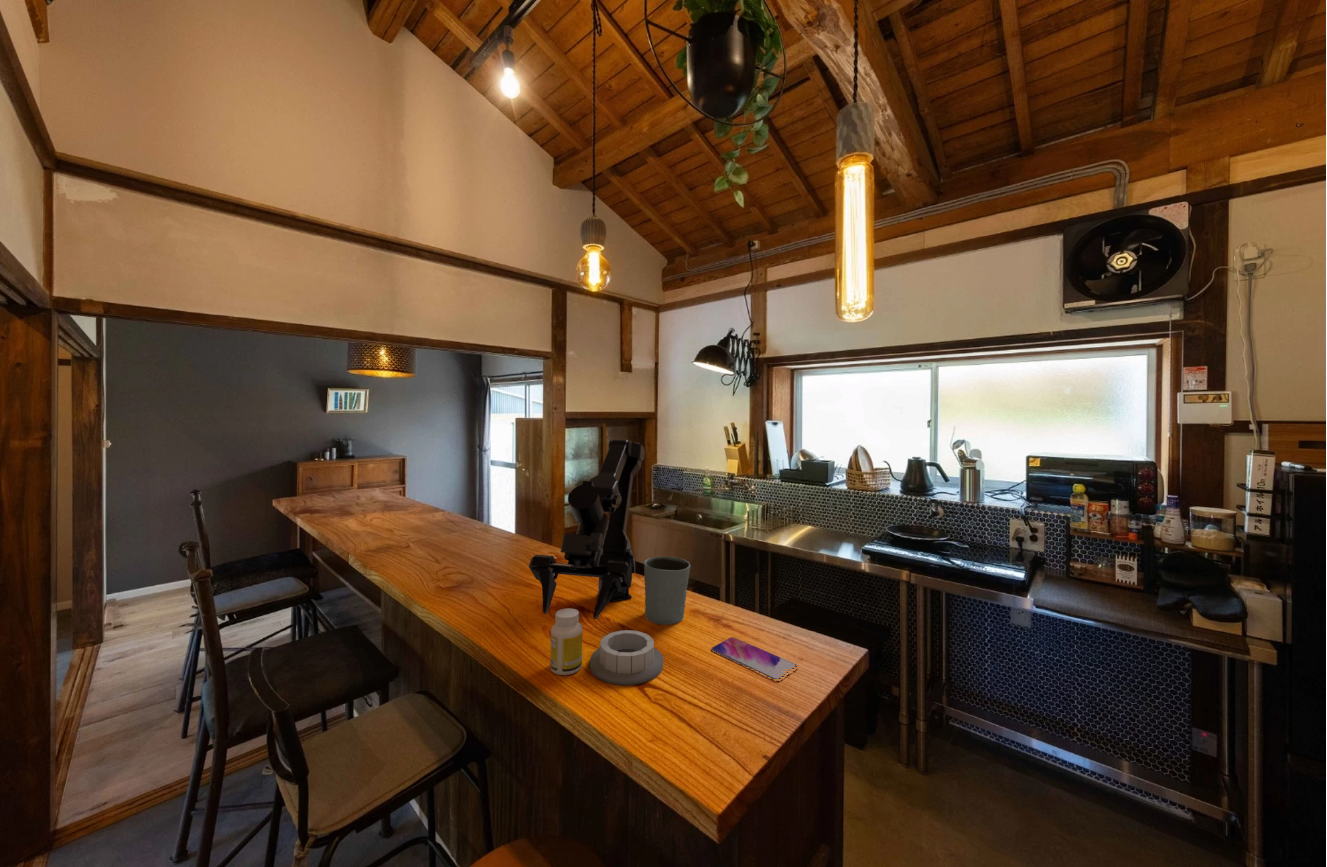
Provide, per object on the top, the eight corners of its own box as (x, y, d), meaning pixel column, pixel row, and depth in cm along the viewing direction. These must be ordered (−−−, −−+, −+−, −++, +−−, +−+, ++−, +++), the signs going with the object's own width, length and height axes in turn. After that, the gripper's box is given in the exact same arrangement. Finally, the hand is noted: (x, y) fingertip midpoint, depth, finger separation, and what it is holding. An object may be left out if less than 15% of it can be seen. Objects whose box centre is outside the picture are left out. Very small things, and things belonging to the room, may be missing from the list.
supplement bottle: (586, 662, 86) (588, 608, 85) (573, 678, 80) (574, 621, 80) (559, 657, 87) (560, 604, 87) (544, 673, 82) (545, 616, 82)
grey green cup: (635, 611, 108) (636, 558, 108) (674, 604, 113) (676, 553, 113) (655, 630, 99) (656, 572, 99) (697, 621, 104) (698, 566, 104)
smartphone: (778, 681, 81) (709, 648, 92) (778, 686, 81) (709, 652, 92) (799, 665, 86) (732, 635, 97) (799, 669, 86) (732, 640, 97)
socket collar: (643, 641, 94) (644, 621, 94) (676, 674, 83) (677, 651, 83) (579, 655, 88) (580, 634, 88) (605, 693, 77) (606, 668, 77)
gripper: (533, 512, 91) (504, 590, 80) (630, 518, 88) (613, 600, 77) (549, 542, 99) (524, 617, 88) (638, 549, 96) (623, 627, 85)
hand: (569, 615), depth 85 cm, fingers open, 9 cm apart
